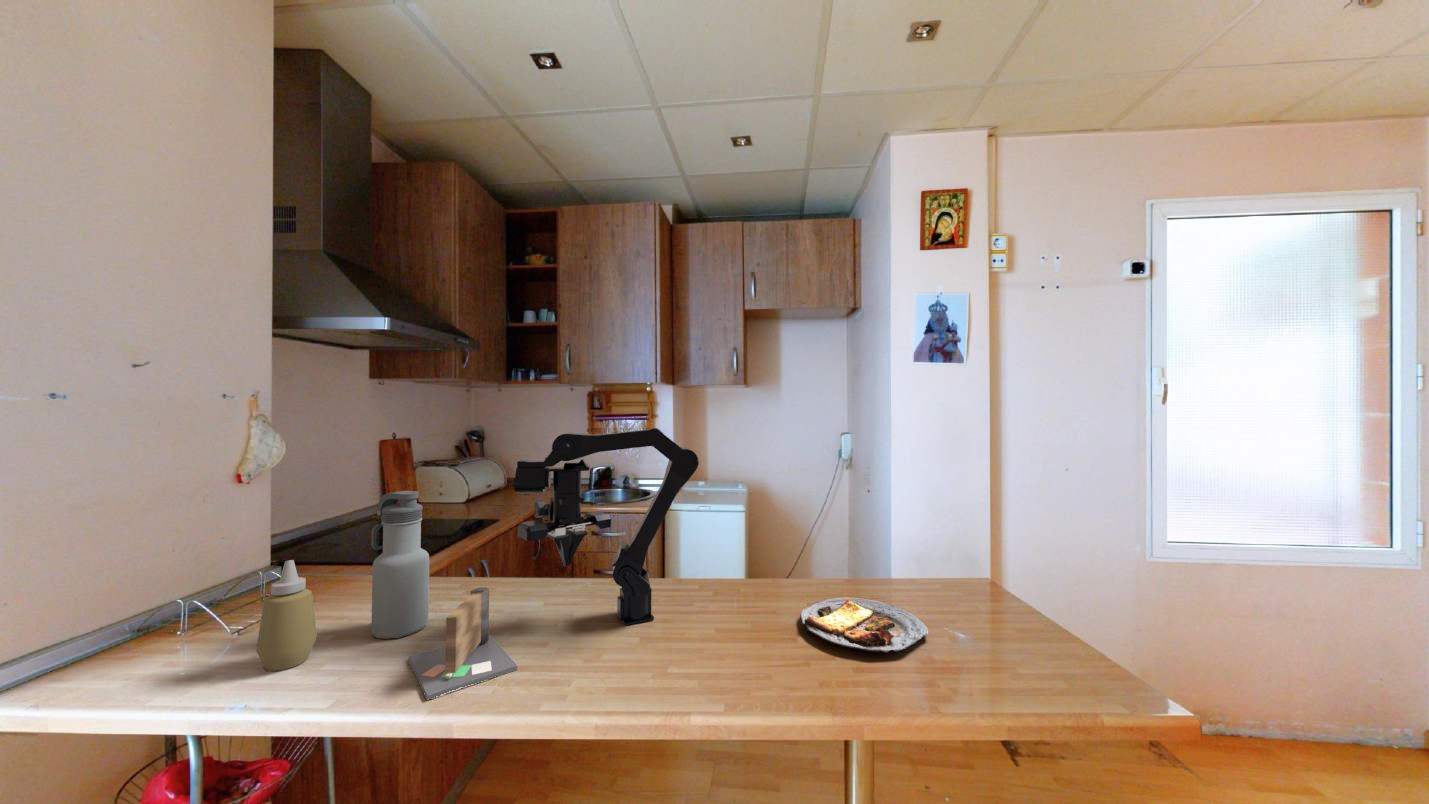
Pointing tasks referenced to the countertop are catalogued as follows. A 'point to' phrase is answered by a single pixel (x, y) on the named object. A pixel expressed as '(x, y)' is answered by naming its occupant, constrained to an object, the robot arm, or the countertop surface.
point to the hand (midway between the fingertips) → (566, 565)
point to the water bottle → (399, 568)
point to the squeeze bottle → (287, 622)
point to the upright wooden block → (466, 629)
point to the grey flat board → (475, 668)
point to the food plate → (847, 616)
